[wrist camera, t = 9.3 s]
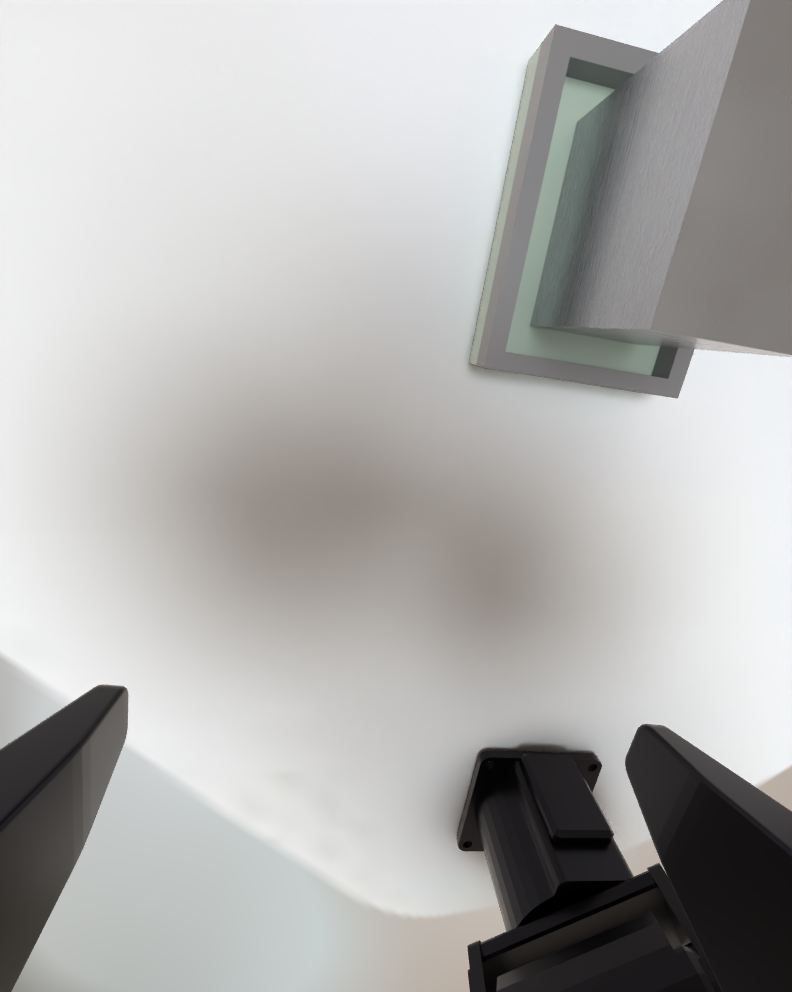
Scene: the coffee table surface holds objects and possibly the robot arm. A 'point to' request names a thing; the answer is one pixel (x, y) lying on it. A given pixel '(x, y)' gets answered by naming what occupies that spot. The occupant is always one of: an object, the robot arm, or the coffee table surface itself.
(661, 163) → the billet
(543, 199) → the grey green tray
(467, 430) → the coffee table surface
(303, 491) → the coffee table surface
